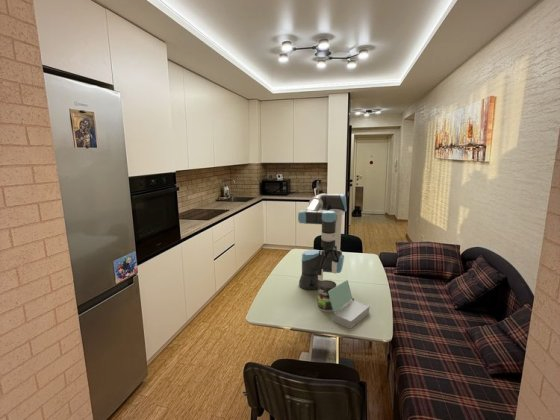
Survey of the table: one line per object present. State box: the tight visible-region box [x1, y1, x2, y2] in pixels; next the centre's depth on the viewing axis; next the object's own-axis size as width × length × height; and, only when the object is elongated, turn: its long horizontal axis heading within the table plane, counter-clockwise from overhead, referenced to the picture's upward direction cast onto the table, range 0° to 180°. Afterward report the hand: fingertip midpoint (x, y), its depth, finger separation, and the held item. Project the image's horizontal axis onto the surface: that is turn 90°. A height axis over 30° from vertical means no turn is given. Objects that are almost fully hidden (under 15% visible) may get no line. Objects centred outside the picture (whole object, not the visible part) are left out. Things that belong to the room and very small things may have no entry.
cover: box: [328, 279, 353, 312], centre depth 164 cm, size 11×19×1 cm
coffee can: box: [317, 279, 337, 313], centre depth 171 cm, size 10×10×14 cm
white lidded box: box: [331, 297, 370, 329], centre depth 161 cm, size 10×21×5 cm, turn 138°
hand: (327, 276), depth 168 cm, fingers open, 13 cm apart
